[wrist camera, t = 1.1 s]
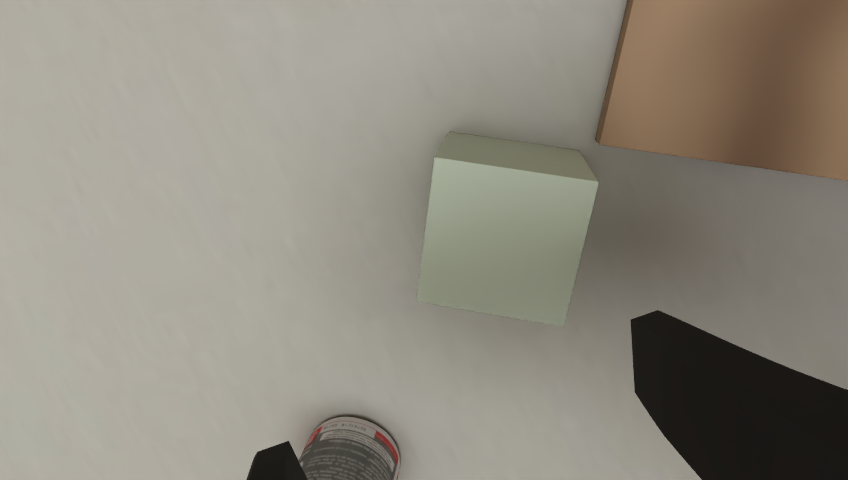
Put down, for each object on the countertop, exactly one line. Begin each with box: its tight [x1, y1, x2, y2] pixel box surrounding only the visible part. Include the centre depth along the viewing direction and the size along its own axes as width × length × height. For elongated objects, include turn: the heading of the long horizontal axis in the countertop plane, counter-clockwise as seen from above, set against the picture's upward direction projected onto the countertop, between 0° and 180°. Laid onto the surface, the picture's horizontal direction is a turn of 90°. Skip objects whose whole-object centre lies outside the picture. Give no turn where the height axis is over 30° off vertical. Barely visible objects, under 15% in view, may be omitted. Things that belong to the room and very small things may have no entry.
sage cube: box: [416, 132, 599, 327], centre depth 20 cm, size 5×5×5 cm
